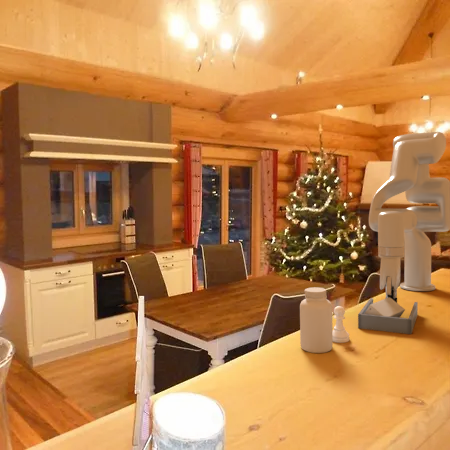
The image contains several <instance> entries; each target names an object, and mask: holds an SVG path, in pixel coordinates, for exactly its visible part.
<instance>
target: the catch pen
mask: <svg viewBox="0 0 450 450" xmlns="http://www.w3.org/2000/svg"><path fill="white" fill-rule="evenodd" d="M373 303H374V298H372V297H370V298H369V299H368V301H367V302H366V304H365V305H364V306H363V307H362V309H361V310H360V311H359V312H358V314H357V328H358V329H361V330H363V329H364V330H372V331H380V332H390V333H396V334H397V333H398V334H405V335H406V334H407V335H412V333H413V330H414V327H415V324H416V320H417V318H418V306H419V305H418V301H414V303H413V304H412V305H413V306H412V308H411V311H410V313H409V316H408V318H407V317H400V318H398V317H388V316H378V315H368V314H365V312H366V310H367V309H368V307H369V306H370V305H371V304H373Z"/></svg>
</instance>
